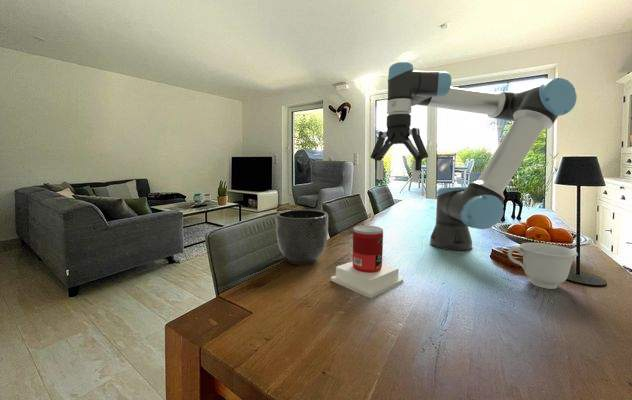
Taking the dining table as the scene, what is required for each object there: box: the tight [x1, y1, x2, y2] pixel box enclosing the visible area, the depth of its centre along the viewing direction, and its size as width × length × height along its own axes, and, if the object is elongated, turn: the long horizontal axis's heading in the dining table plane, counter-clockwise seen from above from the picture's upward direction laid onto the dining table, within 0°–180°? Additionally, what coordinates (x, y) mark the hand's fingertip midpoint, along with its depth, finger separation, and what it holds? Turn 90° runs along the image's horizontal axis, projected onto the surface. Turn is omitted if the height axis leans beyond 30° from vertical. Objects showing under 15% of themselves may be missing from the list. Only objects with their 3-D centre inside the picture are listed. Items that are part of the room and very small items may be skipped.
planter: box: [275, 209, 329, 266], centre depth 95 cm, size 17×17×16 cm
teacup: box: [507, 242, 579, 290], centre depth 77 cm, size 12×15×10 cm
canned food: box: [352, 225, 384, 273], centre depth 78 cm, size 8×8×11 cm
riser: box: [330, 260, 404, 299], centre depth 79 cm, size 14×14×4 cm
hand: (396, 180), depth 95 cm, fingers open, 13 cm apart
